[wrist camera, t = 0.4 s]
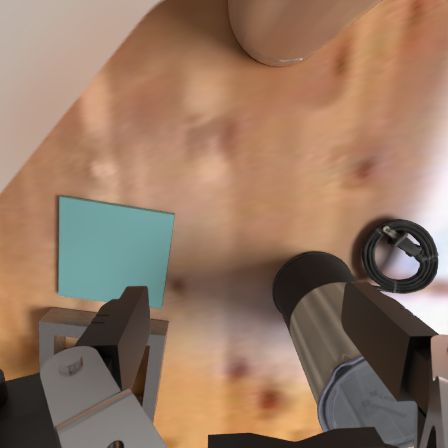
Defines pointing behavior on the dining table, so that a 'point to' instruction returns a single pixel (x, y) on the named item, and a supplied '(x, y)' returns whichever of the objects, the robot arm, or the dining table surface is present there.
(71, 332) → the grey square frame
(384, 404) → the milk frother
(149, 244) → the teal mat
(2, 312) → the dining table surface
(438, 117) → the dining table surface
